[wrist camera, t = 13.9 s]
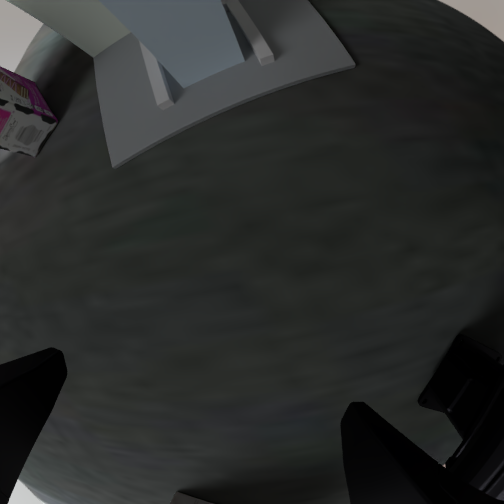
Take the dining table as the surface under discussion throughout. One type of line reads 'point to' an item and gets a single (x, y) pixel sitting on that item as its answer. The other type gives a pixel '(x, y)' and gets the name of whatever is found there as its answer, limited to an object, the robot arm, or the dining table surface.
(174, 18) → the tall gray box
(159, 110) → the white open shelf
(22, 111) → the candy bar box
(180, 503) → the coffee box
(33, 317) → the dining table surface
